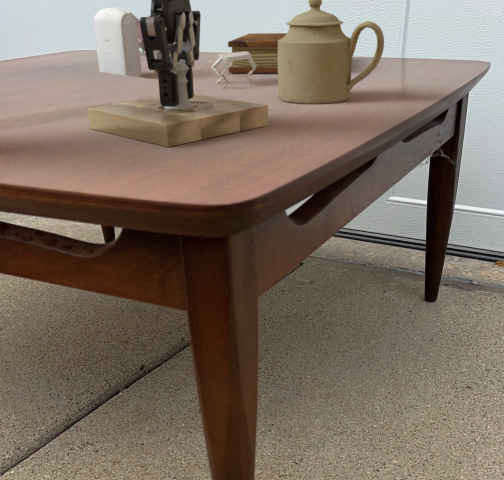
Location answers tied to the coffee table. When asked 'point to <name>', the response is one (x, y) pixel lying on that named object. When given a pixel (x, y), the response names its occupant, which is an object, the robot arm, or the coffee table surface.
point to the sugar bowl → (320, 58)
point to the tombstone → (117, 42)
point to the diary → (257, 52)
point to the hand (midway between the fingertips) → (177, 101)
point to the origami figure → (233, 57)
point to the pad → (178, 119)
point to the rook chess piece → (181, 87)
